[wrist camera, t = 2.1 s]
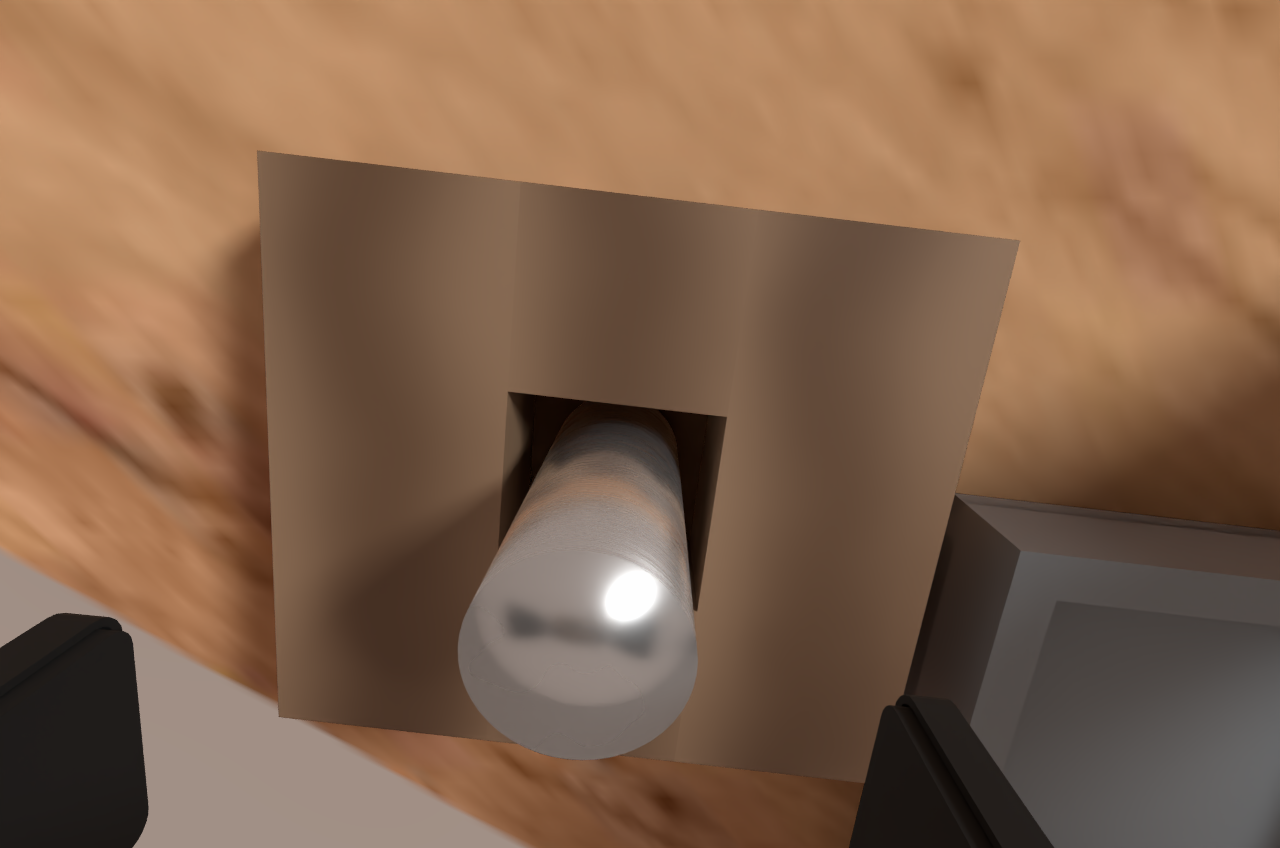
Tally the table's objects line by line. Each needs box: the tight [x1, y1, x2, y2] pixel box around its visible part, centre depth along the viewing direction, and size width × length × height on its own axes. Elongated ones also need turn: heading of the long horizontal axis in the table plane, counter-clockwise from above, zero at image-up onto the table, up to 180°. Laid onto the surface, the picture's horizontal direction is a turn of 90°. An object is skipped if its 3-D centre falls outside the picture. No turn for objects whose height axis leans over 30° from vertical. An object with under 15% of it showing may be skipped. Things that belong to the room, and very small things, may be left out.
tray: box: [903, 493, 1280, 848], centre depth 20 cm, size 16×16×4 cm
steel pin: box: [458, 401, 698, 760], centre depth 15 cm, size 4×4×10 cm
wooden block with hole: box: [257, 151, 1020, 783], centre depth 18 cm, size 16×14×4 cm
